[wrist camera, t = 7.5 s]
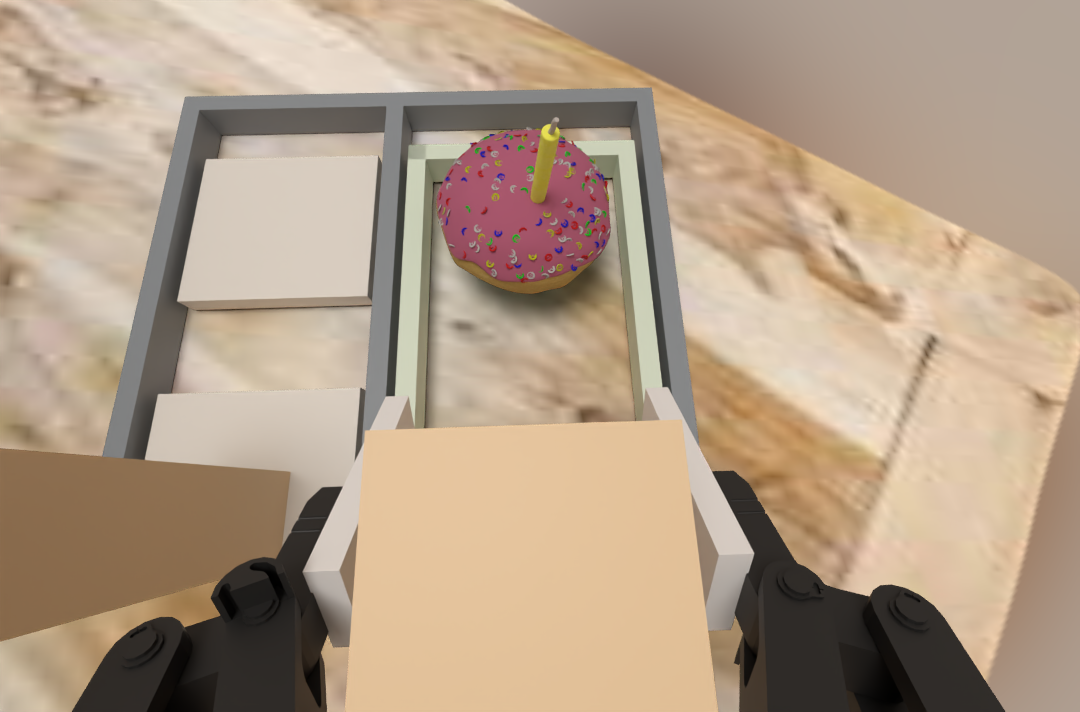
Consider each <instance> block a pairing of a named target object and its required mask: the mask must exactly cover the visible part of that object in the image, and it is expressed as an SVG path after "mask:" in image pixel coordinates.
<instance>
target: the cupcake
mask: <svg viewBox="0 0 1080 712" xmlns="http://www.w3.org/2000/svg"><path fill="white" fill-rule="evenodd" d="M558 122H559V118H557V117H555V118H554V119H553V120H552V122H551V124H548V125H545V126H544V127H543V128H542V129H540V128H536V130H533V129H532V128H530V127H527V128H526V129H527V130H515V131H513V130H511V131H507V132H504V131H501V132H499V133H498V134H490V135H489V136H487V137H485V138H483V139H482V140H480V141H479V142H478V143H476V142H475V143H470V144H471V148H469V149H468V150H467V151H466V152H464V153H463V154H462V155H461V156H460V157H459V158H458V159H456V160H455V161H454V163H453V165H452V166H451V168H450V169H449V171H448V173H447V175H446V177H445V179H444V181H443V183H442V185H441V187H440V189H439V192H438V195H437V200H436V209H437V214H438V218H439V225H441V228H442V231H443V234H444V237H445V240H446V243H447V246H448V248H449V251H450V254H451V256H452V258H453V260H454V262H455V263H456V264H457V265H458V266H459V267H461V268H462V269H464V270H466V271H468V272H469V273H471V274H472V275H474V276H476V277H477V278H479V279H481V280H483V281H485V282H487V283H489V284H491V285H494V286H496V287H498V288H501V289H504V290H508V291H512V292H517V293H524V294H534V293H539V292H543V291H546V290H551V289H557V288H561V287H563V286H565V285H567V284H568V283H569V282H571V281H572V280H573V279H574V278H575V277H576V276H577V275H578V274H580V273H581V272H582V271H583V270H584V269H586V268H587V267H588V266H590V265H591V264H592V262H593V261H594V260H595V259H596V258H597V257H598V256H599V255H600V254H601V252H602V251H603V249H604V248H605V246H606V244H607V242H608V239H609V236H610V218H609V196H608V191H607V181H604V176H603V174H601V173H600V168H599V167H597V166H596V165H595V163H596V162H595V159H594V162H593V160H592V159H591V158H590V157H589V156H588V155H586V154H585V153H584V152H583V151H582V149H580V148H578V147H577V146H576V145H575V144H574V143H573V141H571V142H572V144H571V143H569V142H567V141H566V140H565V138H564V137H563V136H560V131H559V129H558V128H557V123H558ZM560 137H561V138H560Z"/></svg>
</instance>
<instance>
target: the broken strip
mask: <svg viewBox="0 0 1080 712" xmlns="http://www.w3.org/2000/svg"><path fill="white" fill-rule="evenodd" d="M381 174H382V163H381V160H380V158H379V156H378V155H374V156H329V157H284V158H239V159H206V162H205V167H204V172H203V177H202V182H201V187H200V192H199V197H198V201H197V206H196V211H195V216H194V221H193V226H192V231H191V236H190V241H189V246H188V250H187V255H186V260H185V265H184V270H183V275H182V280H181V285H180V290H179V295H178V299H177V302H179V303H181V304H183V305H185V306H187V307H189V308H190V309H192V310H212V309H246V308H280V307H315V306H349V305H372V297H373V284H374V270H375V256H376V243H377V229H378V215H379V202H380V188H381ZM365 393H366V391H365V390H364V389H362V388H331V389H300V390H270V391H239V392H209V393H178V394H158V397H157V402H156V407H155V412H154V417H153V422H152V427H151V432H150V437H149V441H148V446H147V451H146V456H145V460H139V459H126V458H114V457H101V456H89V455H76V454H64V453H51V452H39V451H26V450H14V449H1V448H0V641H4V640H7V639H11V638H15V637H18V636H22V635H25V634H29V633H32V632H36V631H39V630H43V629H47V628H50V627H54V626H57V625H61V624H64V623H68V622H71V621H75V620H79V619H82V618H86V617H89V616H93V615H96V614H100V613H103V612H107V611H111V610H114V609H118V608H121V607H125V606H128V605H132V604H135V603H139V602H143V601H146V600H150V599H153V598H157V597H160V596H164V595H167V594H171V593H175V592H178V591H182V590H185V589H189V588H192V587H196V586H199V585H203V584H207V583H210V582H214V581H217V580H221V579H222V578H223V577H224V576H225V575H226V574H227V573H229V572H230V571H231V570H233V569H234V568H235V567H237V566H238V565H240V564H243V563H245V562H247V561H249V560H252V559H256V558H261V557H268V558H275V559H276V557H277V555H278V554H279V552H280V550H281V548H282V546H283V544H284V543H285V541H286V539H287V537H288V535H289V534H291V530H292V528H293V526H294V524H295V523H296V521H297V520H298V519H299V518H298V517H299V515H300V513H301V512H302V510H303V508H304V506H305V504H306V502H307V501H308V500H309V499H310V498H311V497H312V496H313V495H314V494H315V493H316V492H318V491H319V490H320V489H321V488H322V487H338V486H344V484H345V481H346V479H347V477H348V475H349V473H350V471H351V469H352V467H353V465H354V462H355V460H356V458H357V456H358V454H359V452H360V450H361V447H362V433H363V420H364V406H365Z"/></svg>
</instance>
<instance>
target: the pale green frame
mask: <svg viewBox="0 0 1080 712" xmlns="http://www.w3.org/2000/svg"><path fill="white" fill-rule="evenodd" d="M567 142H569V143H571V144H572V142H571V141H567ZM573 143H574V144H575V145H576V146H577V147H578V148H580V149H582V151H583V152H584V153H585V154H586V155H588V156H589V157H590V158H591V159H592V160H593V162H594V159H595V162H596V163H595V165H596V166H597V167H599V168H600V173H601V174H603V176H604V178H613V187H614V197H615V208H616V218H617V228H618V239H619V249H620V260H621V270H622V281H623V291H624V301H625V312H626V322H627V333H628V343H629V354H630V364H631V374H632V385H633V395H634V406H635V416H636V421H624V422H596V423H567V424H538V425H509V426H480V427H452V428H424V424H425V396H426V368H427V340H428V311H429V283H430V255H431V226H432V198H433V182H443V181H444V179H445V177H446V175H447V173H448V171H449V169H450V168H451V166H452V165H453V163H454V161H455V160H456V159H458V158H459V157H460V156H461V155H462V154H463V153H464V152H466V151H467V150H468V149H469V148H471V144H427V145H409V148H408V166H407V184H406V203H405V221H404V239H403V258H402V276H401V294H400V313H399V331H398V349H397V367H396V386H395V396H409V401H410V406H411V412H412V417H413V422H414V428H415V429H394V430H365V437H364V451H363V465H362V479H361V493H360V506H359V520H358V534H357V548H356V562H355V576H354V590H353V604H352V618H351V632H350V645H349V659H348V673H347V687H346V701H345V712H718V706H717V698H716V690H715V682H714V674H713V666H712V658H711V650H710V642H709V634H708V626H707V618H706V610H705V602H704V594H703V586H702V578H701V569H700V561H699V553H698V545H697V537H696V529H695V521H694V513H693V505H692V497H691V489H690V481H689V473H688V465H687V457H686V449H685V441H684V433H683V425H682V420H653V421H642V416H643V407H644V398H645V389H646V388H659V387H662V379H661V371H660V362H659V353H658V344H657V336H656V327H655V318H654V310H653V301H652V292H651V283H650V275H649V266H648V257H647V248H646V240H645V231H644V222H643V214H642V205H641V196H640V187H639V179H638V170H637V161H636V153H635V144H634V140H610V141H573Z"/></svg>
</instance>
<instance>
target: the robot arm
mask: <svg viewBox="0 0 1080 712" xmlns="http://www.w3.org/2000/svg"><path fill="white" fill-rule="evenodd" d="M653 420H682V425H683V433H684V441H685V449H686V457H687V465H688V473H689V481H690V489H691V497H692V505H693V513H694V521H695V529H696V537H697V545H698V553H699V561H700V569H701V578H702V586H703V594H704V602H705V610H706V618H707V626H708V631H714V630H731V628H732V625H733V621H734V618H735V615H736V618H737V620H738V622H739V625H740V627H741V630H742V632H743V636H742V639H741V642H740V645H739V648H738V651H737V654H736V657H735V661H734V663H735V664H738V665H739V664H740V702H739V712H1005V710H1004V709H1003V707H1002V706H1001V704H1000V703H999V701H998V700H997V698H996V696H995V695H994V693H993V692H992V690H991V689H990V687H989V686H988V684H987V683H986V681H985V680H984V678H983V677H982V675H981V673H980V672H979V670H978V669H977V667H976V666H975V664H974V663H973V661H972V660H971V658H970V657H969V655H968V653H967V652H966V650H965V649H964V647H963V646H962V644H961V643H960V641H959V640H958V638H957V637H956V635H955V633H954V632H953V630H952V629H951V627H950V626H949V624H948V623H947V621H946V620H945V618H944V617H943V616H942V615H941V613H940V612H939V611H938V610H937V609H936V608H935V606H934V605H932V604H931V603H930V602H928V601H927V600H926V599H924V598H923V597H922V596H921V595H919V594H917V593H914V592H912V591H910V590H908V589H906V588H903V587H899V586H895V585H880V586H879V587H877V588H876V589H874V590H873V591H872V593H871V595H870V597H869V596H865V595H861V594H856V593H852V592H848V591H844V590H840V589H836V588H833V587H830V586H827V585H825V584H824V583H823V582H822V580H821V579H820V578H819V577H818V576H817V575H816V574H815V573H813V572H812V571H811V570H809V569H808V568H806V567H805V566H802V565H800V564H797V562H796V561H795V560H794V558H793V557H792V555H791V553H790V552H789V550H788V548H787V547H786V545H785V543H784V542H783V540H782V538H781V537H780V535H779V533H778V532H777V530H776V528H775V527H774V525H773V523H772V522H771V520H770V518H769V517H768V515H767V514H765V510H764V508H763V507H762V505H761V503H760V502H759V501H758V500H757V499H758V498H757V497H756V495H755V493H754V492H753V490H752V488H751V487H750V485H749V483H747V482H746V481H745V480H744V479H743V478H742V477H740V476H739V475H738V474H737V473H736V472H734V471H713V472H712V471H711V469H710V467H709V465H708V463H707V461H706V460H705V458H704V456H703V454H702V452H701V450H700V448H699V446H698V444H697V442H696V440H695V438H694V436H693V435H692V433H691V431H690V429H689V427H688V425H687V423H686V421H685V419H684V417H683V415H682V413H681V411H680V410H679V408H678V406H677V404H676V402H675V400H674V398H673V396H672V394H671V392H670V390H669V388H668V387H659V388H646V389H645V398H644V407H643V416H642V421H653ZM394 429H415V428H414V422H413V417H412V412H411V406H410V401H409V396H388V397H385V399H384V401H383V403H382V406H381V408H380V410H379V412H378V414H377V416H376V418H375V420H374V422H373V425H372V427H371V429H370V430H394ZM363 451H364V443H363V446H362V448H361V450H360V452H359V454H358V456H357V458H356V460H355V462H354V465H353V467H352V469H351V471H350V473H349V475H348V477H347V479H346V481H345V484H344V486H338V487H322V488H321V489H320V490H319V491H318V492H316V493H315V494H314V495H313V496H312V497H311V498H310V499H309V500H308V501H307V502H306V504H305V506H304V508H303V510H302V512H301V513H300V515H299V517H298V518H299V519H298V520H297V521H296V523H295V524H294V526H293V528H292V530H291V534H289V535H288V537H287V539H286V541H285V543H284V544H283V546H282V548H281V550H280V552H279V554H278V555H277V557H276V559H275V558H268V557H261V558H256V559H252V560H249V561H247V562H245V563H243V564H240V565H238V566H237V567H235V568H234V569H233V570H231V571H230V572H229V573H227V574H226V575H225V576H224V577H223V578H222V579H221V581H220V582H219V583H218V584H217V585H216V587H215V589H214V591H213V594H212V596H211V599H212V601H213V603H214V605H215V606H216V608H217V610H218V612H219V613H220V615H221V616H219V617H215V618H212V619H209V620H206V621H203V622H200V623H197V624H194V625H191V626H188V627H185V628H184V627H183V625H182V624H181V622H180V621H178V620H177V619H175V618H173V617H159V618H156V619H153V620H150V621H147V622H144V623H143V624H141V625H139V626H137V627H136V628H134V629H132V630H131V631H129V632H128V633H127V634H126V635H124V636H123V637H122V638H121V639H120V640H118V641H117V642H116V643H115V644H114V646H113V647H112V648H111V649H110V651H109V652H108V653H107V654H106V656H105V657H104V659H103V661H102V662H101V664H100V666H99V667H98V669H97V671H96V672H95V674H94V676H93V677H92V679H91V681H90V682H89V684H88V686H87V687H86V689H85V691H84V692H83V694H82V696H81V697H80V699H79V701H78V702H77V704H76V706H75V707H74V709H73V711H72V712H327V704H326V685H325V667H324V661H323V658H322V655H321V651H322V648H323V645H324V643H325V640H326V637H327V635H328V636H329V638H330V641H331V643H332V646H333V647H349V645H350V632H351V618H352V604H353V590H354V576H355V562H356V548H357V534H358V520H359V506H360V493H361V479H362V465H363Z"/></svg>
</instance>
